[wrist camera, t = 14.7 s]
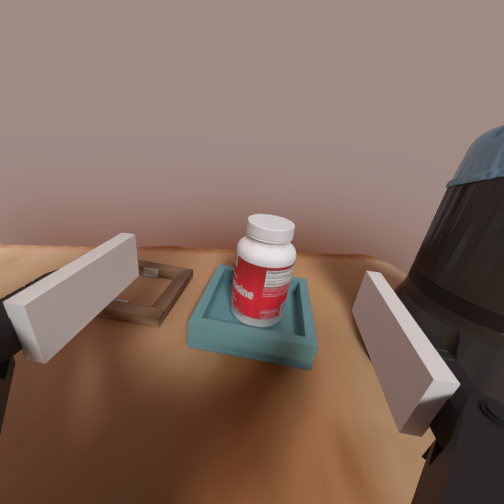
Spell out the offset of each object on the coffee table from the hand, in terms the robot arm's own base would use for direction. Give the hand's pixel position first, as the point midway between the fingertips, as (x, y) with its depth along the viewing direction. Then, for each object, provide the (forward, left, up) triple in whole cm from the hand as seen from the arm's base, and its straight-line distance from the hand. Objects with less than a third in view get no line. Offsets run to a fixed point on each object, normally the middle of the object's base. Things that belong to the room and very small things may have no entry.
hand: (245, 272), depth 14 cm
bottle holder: (+14, -12, -12) cm, 22 cm away
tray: (-1, -11, -12) cm, 16 cm away
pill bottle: (-1, -11, -11) cm, 16 cm away
